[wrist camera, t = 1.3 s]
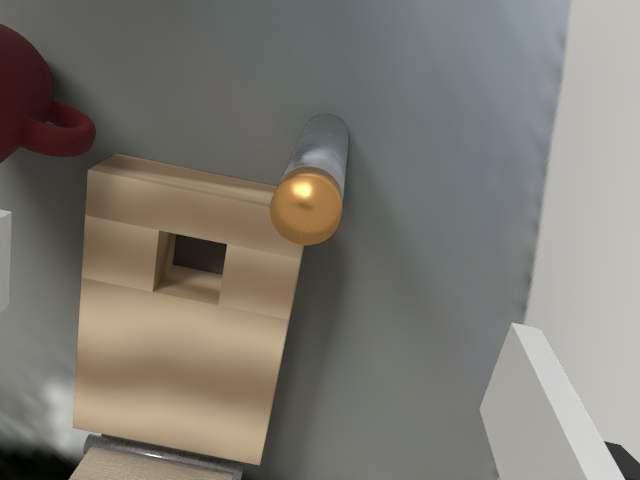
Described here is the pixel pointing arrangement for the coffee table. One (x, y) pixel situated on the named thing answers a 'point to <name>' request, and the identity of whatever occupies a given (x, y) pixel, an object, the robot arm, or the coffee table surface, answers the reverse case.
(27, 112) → the mug
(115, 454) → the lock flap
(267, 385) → the block
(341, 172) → the pin
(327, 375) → the coffee table surface
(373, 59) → the coffee table surface
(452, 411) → the coffee table surface
